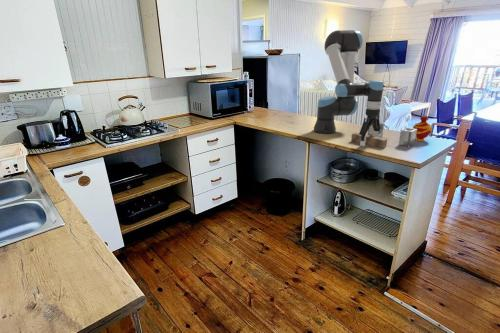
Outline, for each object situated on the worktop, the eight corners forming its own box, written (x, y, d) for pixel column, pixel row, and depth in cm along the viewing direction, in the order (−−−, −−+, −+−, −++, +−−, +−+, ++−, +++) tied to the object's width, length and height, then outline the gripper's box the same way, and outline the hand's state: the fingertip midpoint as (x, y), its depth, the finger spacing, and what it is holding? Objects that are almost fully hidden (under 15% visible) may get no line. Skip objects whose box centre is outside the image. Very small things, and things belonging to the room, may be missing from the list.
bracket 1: (382, 137, 190) (384, 123, 186) (375, 139, 184) (377, 125, 181) (373, 135, 194) (375, 122, 190) (366, 137, 189) (368, 124, 185)
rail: (351, 141, 183) (352, 133, 181) (354, 140, 185) (355, 132, 183) (382, 148, 169) (384, 140, 167) (386, 147, 171) (387, 138, 170)
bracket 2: (398, 144, 175) (400, 129, 171) (404, 141, 180) (407, 127, 176) (408, 146, 170) (411, 131, 167) (414, 143, 175) (417, 129, 172)
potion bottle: (419, 143, 176) (424, 118, 171) (406, 138, 186) (411, 115, 180) (433, 141, 179) (439, 117, 173) (420, 137, 188) (425, 114, 183)
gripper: (368, 112, 159) (363, 149, 166) (389, 106, 174) (384, 140, 182) (355, 110, 164) (351, 146, 172) (377, 105, 179) (372, 138, 187)
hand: (368, 143), depth 177 cm, fingers open, 13 cm apart
